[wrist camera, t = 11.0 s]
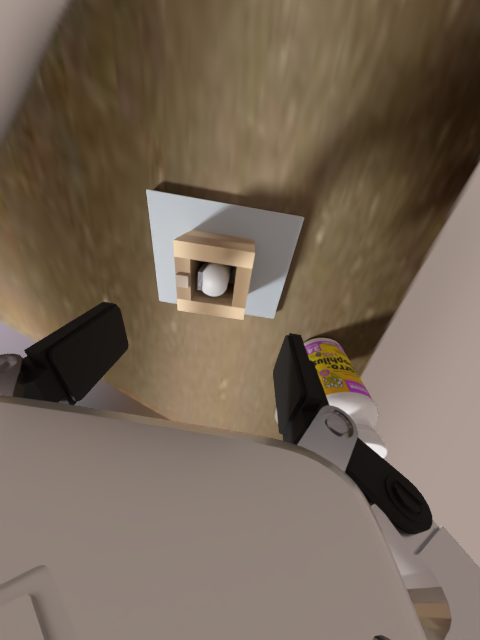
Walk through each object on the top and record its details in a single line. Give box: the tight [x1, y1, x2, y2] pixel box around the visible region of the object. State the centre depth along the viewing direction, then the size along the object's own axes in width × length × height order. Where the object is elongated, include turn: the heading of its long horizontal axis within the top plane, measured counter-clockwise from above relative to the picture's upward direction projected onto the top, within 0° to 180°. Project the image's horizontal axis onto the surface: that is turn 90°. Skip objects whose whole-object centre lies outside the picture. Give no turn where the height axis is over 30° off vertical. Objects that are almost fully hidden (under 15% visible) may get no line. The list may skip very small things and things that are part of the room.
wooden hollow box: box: [173, 230, 255, 320], centre depth 17 cm, size 6×6×5 cm
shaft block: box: [146, 190, 304, 319], centre depth 17 cm, size 14×11×6 cm
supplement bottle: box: [304, 338, 387, 458], centre depth 21 cm, size 7×7×13 cm
